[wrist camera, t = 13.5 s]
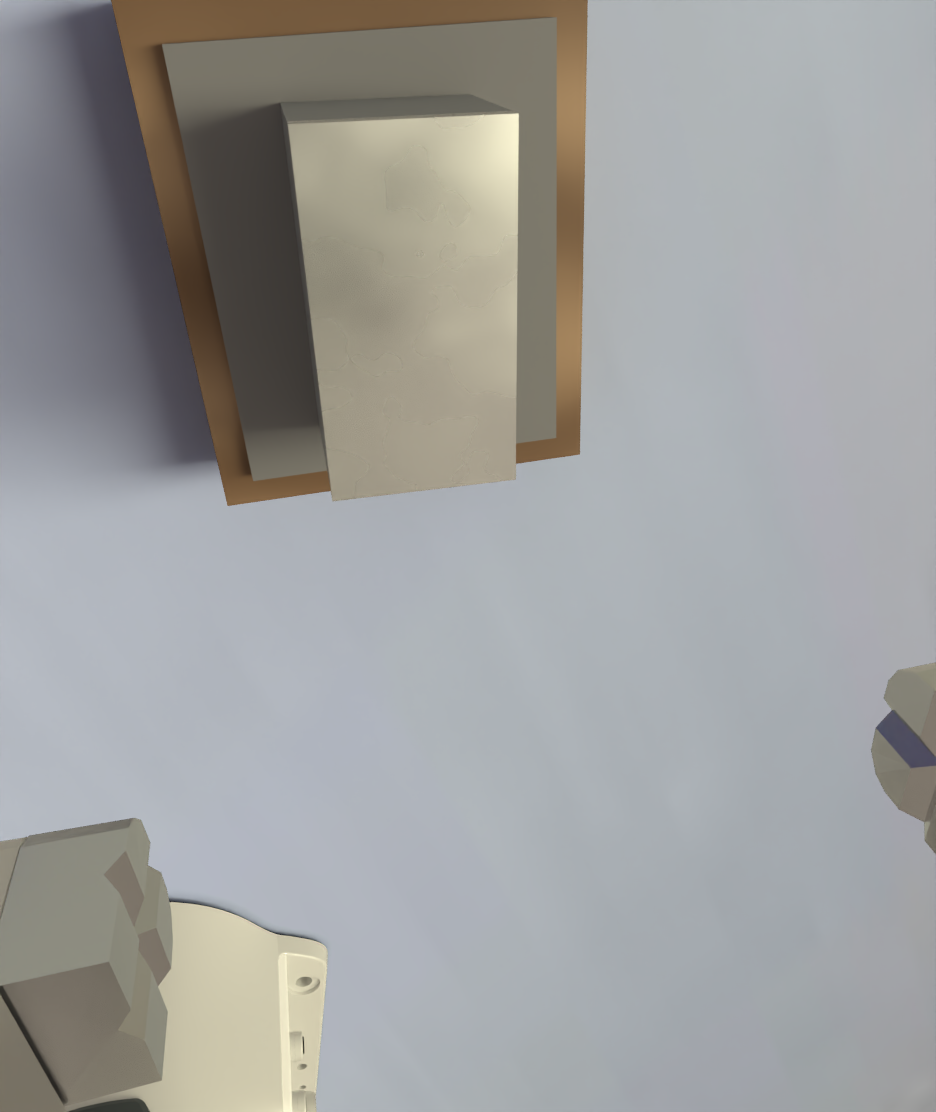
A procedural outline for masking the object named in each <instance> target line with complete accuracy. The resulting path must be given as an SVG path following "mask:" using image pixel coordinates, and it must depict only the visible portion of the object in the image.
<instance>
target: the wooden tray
mask: <svg viewBox="0 0 936 1112" xmlns="http://www.w3.org/2000/svg"><path fill="white" fill-rule="evenodd" d="M111 2H112V6H113V10H114V15H115V19H116V23H117V28H118V32H119V36H120V41H121V45H122V49H123V54H124V58H125V62H126V67H127V71H128V75H129V80H130V84H131V88H132V93H133V97H134V101H135V106H136V110H137V115H138V119H139V123H140V128H141V132H142V136H143V141H144V145H145V149H146V154H147V158H148V162H149V167H150V171H151V175H152V180H153V184H154V188H155V193H156V197H157V201H158V206H159V210H160V214H161V219H162V223H163V227H164V232H165V236H166V240H167V245H168V249H169V253H170V258H171V262H172V266H173V271H174V275H175V279H176V284H177V288H178V292H179V297H180V301H181V305H182V310H183V314H184V318H185V323H186V327H187V331H188V336H189V340H190V345H191V349H192V353H193V358H194V362H195V366H196V371H197V375H198V379H199V384H200V388H201V392H202V397H203V401H204V405H205V410H206V414H207V418H208V423H209V427H210V431H211V436H212V440H213V444H214V449H215V453H216V457H217V462H218V466H219V470H220V475H221V479H222V483H223V488H224V492H225V496H226V501H227V505H228V506H230V505H237V504H244V503H251V502H258V501H264V500H271V499H278V498H285V497H292V496H299V495H305V494H312V493H319V492H326V491H331V490H330V484H329V478H328V472H327V467H326V461H325V455H324V450H323V444H322V438H321V433H320V427H319V419H318V411H317V403H316V394H315V386H314V378H313V370H312V361H311V353H310V345H309V336H308V328H307V320H306V312H305V303H304V295H303V287H302V279H301V270H300V262H299V254H298V246H297V237H296V229H295V221H294V213H293V204H292V196H291V188H290V180H289V171H288V163H287V155H286V147H285V138H284V130H283V122H282V114H281V105H280V103H281V102H304V101H327V100H350V99H373V98H396V97H418V96H441V95H464V94H471V95H474V96H476V97H479V98H481V99H484V100H486V101H489V102H491V103H494V104H496V105H499V106H501V107H504V108H506V109H509V110H511V111H514V112H517V113H519V145H518V264H517V383H516V464H517V463H524V462H531V461H538V460H545V459H551V458H558V457H565V456H572V455H579V454H580V411H581V353H582V294H583V236H584V178H585V119H586V61H587V3H588V0H111Z"/></svg>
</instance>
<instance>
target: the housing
mask: <svg viewBox="0 0 936 1112" xmlns="http://www.w3.org/2000/svg"><path fill="white" fill-rule="evenodd" d="M280 105H281V114H282V122H283V130H284V138H285V147H286V155H287V163H288V171H289V180H290V188H291V196H292V204H293V213H294V221H295V229H296V237H297V246H298V254H299V262H300V270H301V279H302V287H303V295H304V303H305V312H306V320H307V328H308V336H309V345H310V353H311V361H312V370H313V378H314V386H315V394H316V403H317V411H318V419H319V427H320V433H321V438H322V444H323V450H324V455H325V461H326V467H327V472H328V478H329V484H330V490H331V495H332V501H339V500H348V499H356V498H364V497H373V496H381V495H389V494H398V493H406V492H415V491H423V490H431V489H440V488H448V487H456V486H465V485H473V484H482V483H490V482H498V481H507V480H515V479H516V383H517V264H518V145H519V113H517V112H514V111H511V110H509V109H506V108H504V107H501V106H499V105H496V104H494V103H491V102H489V101H486V100H484V99H481V98H479V97H476V96H474V95H471V94H464V95H441V96H418V97H396V98H373V99H350V100H327V101H304V102H281V103H280Z"/></svg>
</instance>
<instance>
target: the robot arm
mask: <svg viewBox="0 0 936 1112" xmlns="http://www.w3.org/2000/svg"><path fill="white" fill-rule="evenodd" d="M884 699H885V701H886V702H887V704H888V705H889V707H890V708H891V710H892V711H891V712H890V713H889V714H888V715H887V716H886V717H885V718H884V719H883V720H882V722H881V723H880V724H879V725H878V726H877V727H876V729H875V734H874V738H873V743H872V748H871V753H872V758H873V763H874V768H875V773H876V775H877V777H878V779H879V781H880V783H881V785H882V787H883V789H884V791H885V793H886V794H887V795H888V796H889V798H890V799H891V800H892V801H893V803H894V804H895V805H896V806H897V808H898V809H899V810H901V811H903V812H905V813H907V814H909V815H911V816H913V817H915V818H917V819H919V820H921V821H923V822H924V837H925V842H926V843H927V844H928V845H929V847H930V848H931V849H932V850H933V851H934V853H935V854H936V662H935V663H930V664H925V665H921V666H916V667H911V668H906V669H901V670H898V671H897V672H896V673H895V674H894V675H893V676H892V677H891V678H890V679H889V680H888V684H887V688H886V691H885V695H884ZM149 850H150V841H149V838H148V836H147V833H146V831H145V828H144V826H143V823H142V821H141V820H140V819H136V818H130V819H124V820H119V821H113V822H107V823H101V824H95V825H89V826H83V827H77V828H71V829H65V830H59V831H53V832H47V833H41V834H35V835H29V836H28V837H24V838H18V839H12V840H6V841H0V1112H316V1099H315V1096H316V1087H317V1075H318V1064H319V1053H320V1042H321V1031H322V1020H323V1009H324V998H325V987H326V976H327V957H328V953H327V949H326V947H325V946H324V945H323V944H321V943H319V942H316V941H313V940H309V939H304V938H298V937H292V936H285V935H278V934H275V933H272V932H269V931H267V930H265V929H263V928H261V927H259V926H257V925H255V924H253V923H252V922H250V921H248V920H246V919H244V918H242V917H239V916H237V915H234V914H232V913H229V912H226V911H223V910H220V909H216V908H212V907H207V906H202V905H196V904H189V903H178V902H169V897H168V893H167V888H166V885H165V882H164V879H163V877H162V874H161V872H159V871H157V870H155V869H154V868H152V867H150V866H148V859H149Z"/></svg>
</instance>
